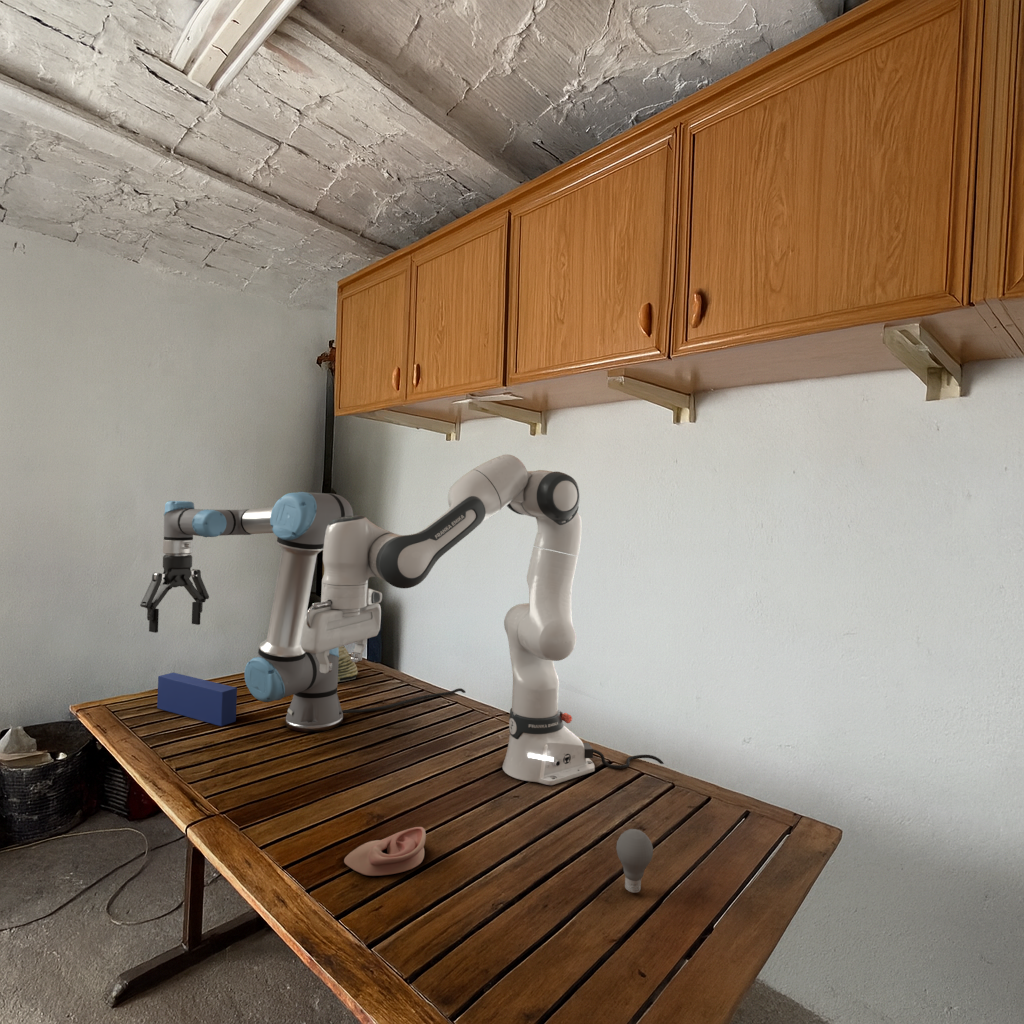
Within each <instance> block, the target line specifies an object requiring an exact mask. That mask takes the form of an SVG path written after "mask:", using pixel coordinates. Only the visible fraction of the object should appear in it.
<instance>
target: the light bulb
mask: <svg viewBox="0 0 1024 1024" xmlns="http://www.w3.org/2000/svg"><path fill="white" fill-rule="evenodd" d="M615 849H616V854H617V857H618V859H619V861H620V863H621V865H622V867H623V873H624V874H623V875H624V876H625V878H624V888H625V890H627V891H628V892H630V893H634V894H635V893H639V892H640V891H641V889H642V887H641V886H642V879H643V877H644V875H645V871H646V868H647V867H648V866H649V864H650V863H651V861H652V859H653V855H654V847H653V843H652V841H651V838H649V836H648V835H647V834H646V833H645V832H643V831H642V830H641V829H636V828H629V829H627V830H625V831H623V832H622V833H621V834H620V835H619V837H618V839H617V841H616V847H615Z"/></svg>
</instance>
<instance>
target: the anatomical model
mask: <svg viewBox="0 0 1024 1024" xmlns="http://www.w3.org/2000/svg"><path fill="white" fill-rule="evenodd" d="M426 839H427V834H426V829H425V827H423V826H415V827H411V828H407V829H404V830H401V831H398V832H396V833H394V834H392V835H389V836H387V837H385V838H383V839H376V840H370V841H368V842H365V843H363V844H361V845H359V846H357V847H356V848H355V849H353V850H352V851H350V852H349V853H348V854H347V855H346V856H345V857H344V859H343V863H344V865H346V866H347V867H348V868H350V869H352V870H353V871H355V872H356V873H359V874H361V875H364V876H369V877H377V876H389V875H394V874H395V875H396V874H399V873H403V872H407V871H409V870H412V869H414V868H416V867H418V866H419V865H421V863H422V862H423V860H424V859H425V848H424V846H425V844H426Z"/></svg>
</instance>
